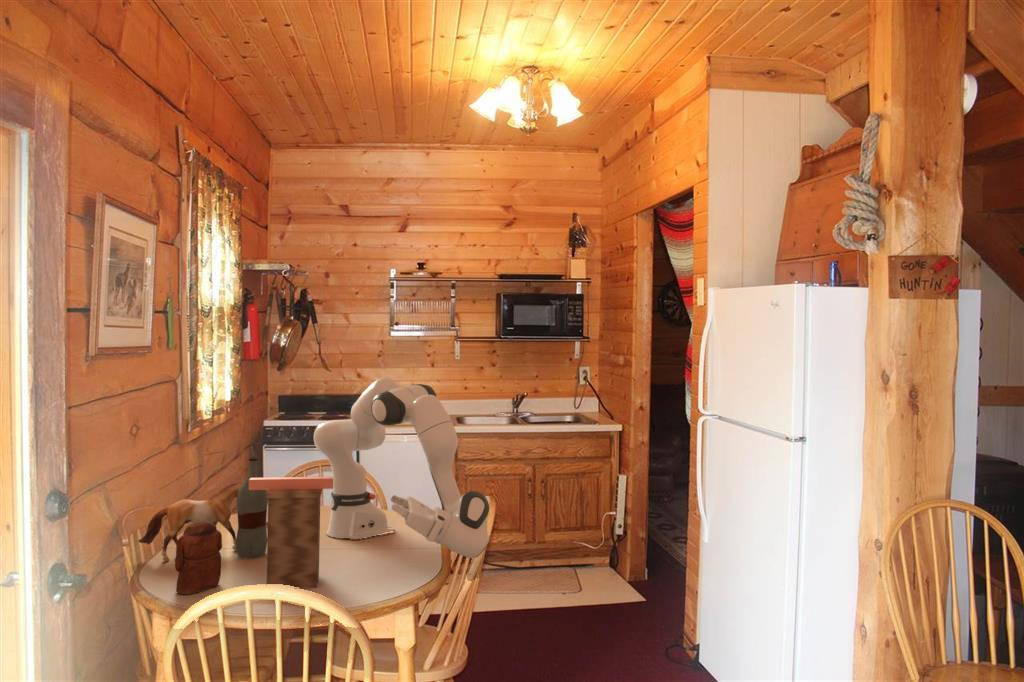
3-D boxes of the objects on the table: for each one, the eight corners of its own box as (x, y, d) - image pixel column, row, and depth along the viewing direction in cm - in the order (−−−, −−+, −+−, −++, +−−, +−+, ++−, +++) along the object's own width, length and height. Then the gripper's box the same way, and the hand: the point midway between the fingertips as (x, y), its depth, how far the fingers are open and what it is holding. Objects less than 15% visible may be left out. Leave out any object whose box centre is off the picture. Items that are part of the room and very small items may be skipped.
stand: (320, 575, 211) (322, 484, 210) (318, 588, 201) (320, 491, 201) (268, 578, 208) (270, 484, 208) (264, 590, 198) (266, 492, 198)
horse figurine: (245, 544, 239) (246, 480, 239) (251, 551, 232) (253, 485, 232) (137, 559, 222) (139, 490, 222) (141, 566, 215) (142, 495, 215)
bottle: (240, 550, 233) (241, 454, 232) (270, 550, 234) (272, 454, 233) (231, 559, 223) (233, 459, 223) (263, 559, 224) (265, 459, 224)
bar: (333, 486, 207) (333, 476, 207) (332, 488, 205) (332, 478, 205) (250, 488, 203) (250, 477, 203) (248, 490, 201) (248, 479, 200)
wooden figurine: (207, 580, 205) (208, 515, 205) (223, 584, 202) (224, 518, 202) (169, 593, 194) (171, 524, 194) (186, 598, 191) (187, 528, 191)
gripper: (437, 505, 222) (396, 483, 220) (443, 523, 202) (398, 500, 200) (426, 523, 222) (385, 502, 219) (432, 544, 202) (387, 520, 199)
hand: (392, 501), depth 209 cm, fingers open, 8 cm apart
